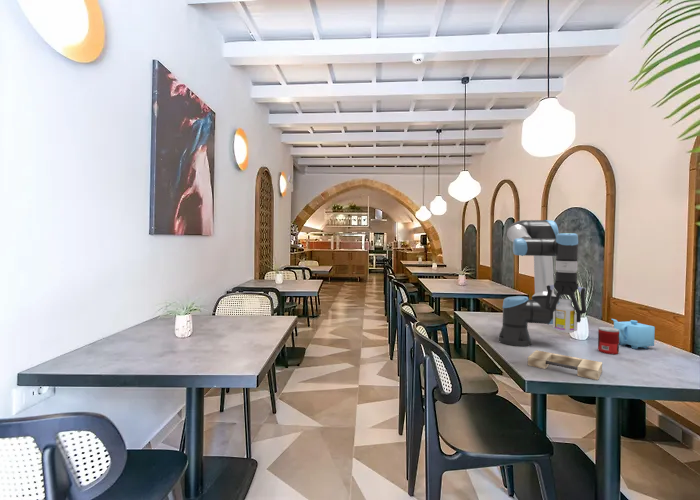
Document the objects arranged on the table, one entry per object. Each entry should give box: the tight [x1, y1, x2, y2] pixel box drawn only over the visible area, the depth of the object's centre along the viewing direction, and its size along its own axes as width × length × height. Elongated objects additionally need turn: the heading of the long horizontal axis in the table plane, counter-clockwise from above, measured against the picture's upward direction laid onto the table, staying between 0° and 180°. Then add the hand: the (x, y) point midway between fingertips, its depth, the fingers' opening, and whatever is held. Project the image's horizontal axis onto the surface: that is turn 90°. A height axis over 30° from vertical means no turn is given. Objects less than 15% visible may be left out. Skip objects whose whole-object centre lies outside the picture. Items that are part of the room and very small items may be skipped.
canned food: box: [597, 326, 620, 355], centre depth 170 cm, size 8×8×11 cm
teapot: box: [611, 318, 656, 350], centre depth 183 cm, size 18×16×13 cm
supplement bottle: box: [555, 298, 576, 334], centre depth 146 cm, size 7×7×13 cm
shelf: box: [527, 349, 603, 381], centre depth 146 cm, size 24×13×4 cm, turn 49°
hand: (564, 328), depth 146 cm, fingers closed on supplement bottle, 7 cm apart
